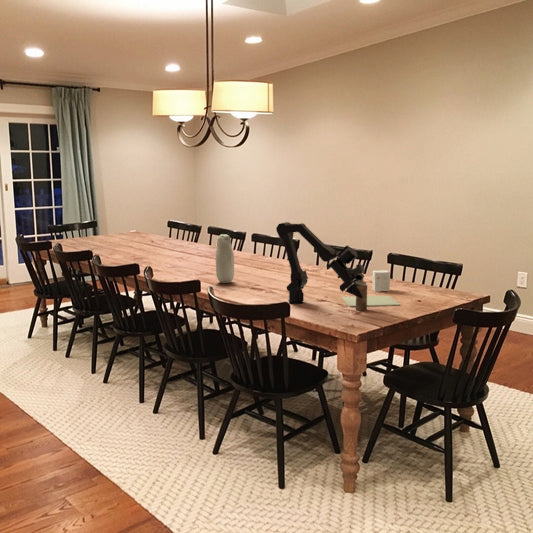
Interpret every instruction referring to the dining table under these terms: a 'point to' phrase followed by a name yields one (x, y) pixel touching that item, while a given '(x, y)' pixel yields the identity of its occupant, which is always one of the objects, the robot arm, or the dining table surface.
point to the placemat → (372, 301)
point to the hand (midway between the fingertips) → (364, 296)
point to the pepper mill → (362, 302)
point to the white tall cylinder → (224, 259)
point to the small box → (381, 280)
